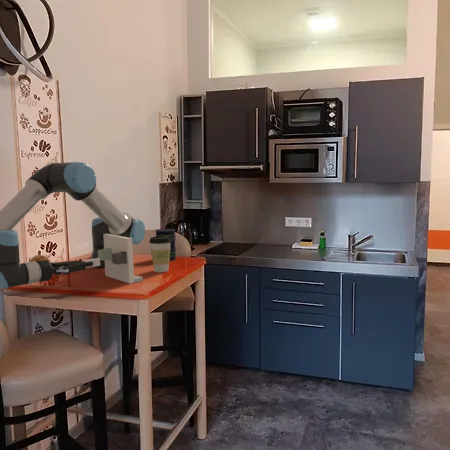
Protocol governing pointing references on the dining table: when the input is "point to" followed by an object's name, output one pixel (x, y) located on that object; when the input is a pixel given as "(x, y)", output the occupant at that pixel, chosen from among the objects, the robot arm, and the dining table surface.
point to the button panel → (122, 270)
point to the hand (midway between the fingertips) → (99, 261)
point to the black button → (119, 258)
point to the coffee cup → (160, 252)
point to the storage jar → (172, 236)
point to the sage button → (105, 254)
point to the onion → (39, 258)
